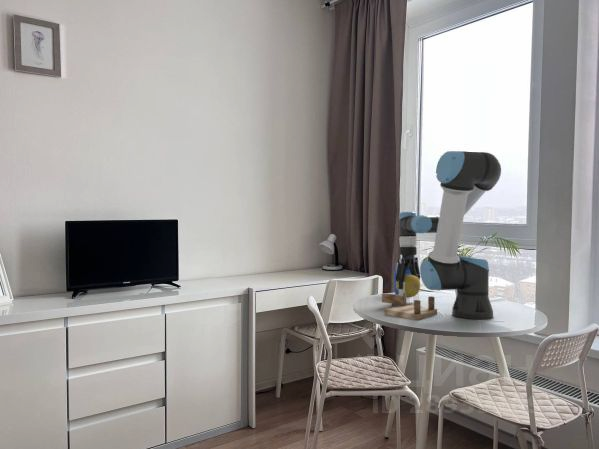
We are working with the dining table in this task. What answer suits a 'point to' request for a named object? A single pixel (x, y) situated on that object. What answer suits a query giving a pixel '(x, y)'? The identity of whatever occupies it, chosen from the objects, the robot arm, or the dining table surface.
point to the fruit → (410, 285)
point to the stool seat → (413, 310)
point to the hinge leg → (394, 298)
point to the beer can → (395, 278)
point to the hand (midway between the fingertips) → (408, 295)
